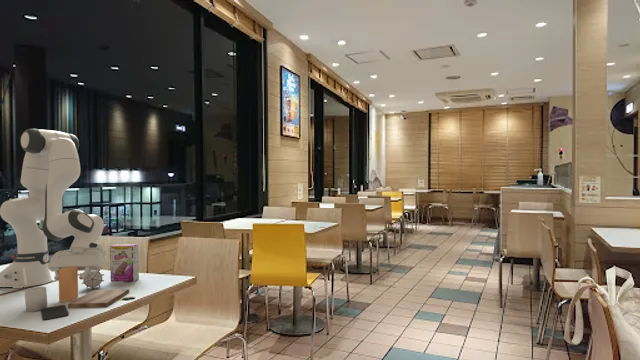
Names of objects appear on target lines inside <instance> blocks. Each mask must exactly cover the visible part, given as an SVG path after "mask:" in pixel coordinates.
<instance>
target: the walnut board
mask: <svg viewBox="0 0 640 360" xmlns="http://www.w3.org/2000/svg"><path fill="white" fill-rule="evenodd" d="M129 293H130V289H129V288H126V289H125V288H124V289H123V288H121V289H118V288H117V289H92V290H91V291H90V292H88V293H86V294H84V295H82V296H80V297H78V298H76V299H75V300H73V301H69V302H68V303H67V309H74V308H75V309H76V308H77V309H79V308H80V309H81V308H83V309H85V308H107V307H109V306H111V305H112V304H114V303H116V302H117V301H119V300H120V299H121V298H124V297H125V296H126V295H128V294H129Z"/></svg>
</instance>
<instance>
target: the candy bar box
mask: <svg viewBox="0 0 640 360" xmlns="http://www.w3.org/2000/svg"><path fill="white" fill-rule="evenodd" d="M109 257H110V259H109V263H110V267H109V268H110V282H121V283H122V282H129V283H130V282H131V283H132V282H136V281H138V280H139V279H140V276H139V275H140V273H139V244H135V243H134V244H133V243H132V244H129V243H124V244H123V243H121V244H120V243H119V244H117V243H115V244H112V245H110V246H109Z"/></svg>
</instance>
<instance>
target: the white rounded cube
mask: <svg viewBox="0 0 640 360" xmlns="http://www.w3.org/2000/svg"><path fill="white" fill-rule="evenodd" d="M47 291H48V290H47V287H46V286H39V287H33V288H29V289H26V290H24V299H25V300H24V301H25V304H24V305H25V312H28V313H29V312H32V313H33V312H38V311H41V309H44V308H48V294H47Z"/></svg>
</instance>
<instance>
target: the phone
mask: <svg viewBox="0 0 640 360" xmlns="http://www.w3.org/2000/svg"><path fill="white" fill-rule="evenodd" d="M40 313H41V318H42V320H43V321H50V320H54V319H60V318H66V317H68V316H69V315H70V314H69V311H68V308H67V307H66V305H65V304H62V305H61V304H60V305H55V306H49V307H47V308H44V309H41V310H40Z"/></svg>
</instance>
